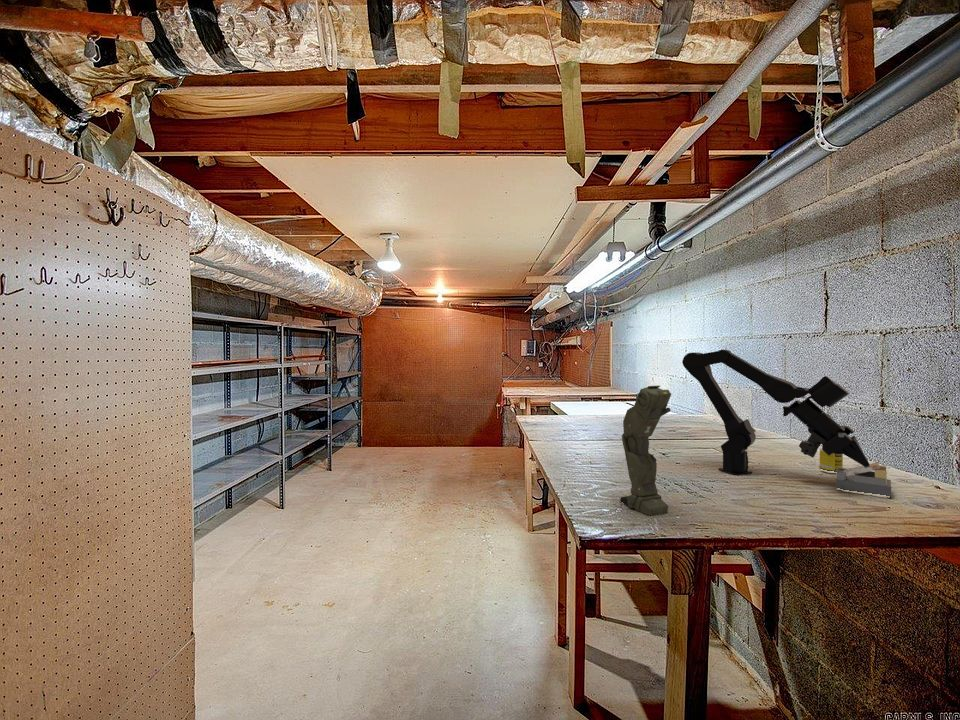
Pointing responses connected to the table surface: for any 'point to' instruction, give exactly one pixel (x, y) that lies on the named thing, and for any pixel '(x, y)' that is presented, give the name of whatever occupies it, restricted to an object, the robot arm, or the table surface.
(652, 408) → the mechanical leg
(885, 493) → the grey tray
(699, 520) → the table surface
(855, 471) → the beige flat panel
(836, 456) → the supplement bottle
